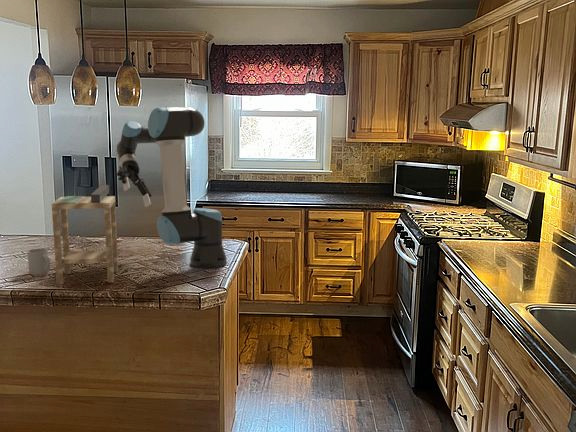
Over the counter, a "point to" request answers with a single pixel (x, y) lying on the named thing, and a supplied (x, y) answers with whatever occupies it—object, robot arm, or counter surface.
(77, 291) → the counter surface
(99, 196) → the grey square bar
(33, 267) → the cup
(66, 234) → the stand
